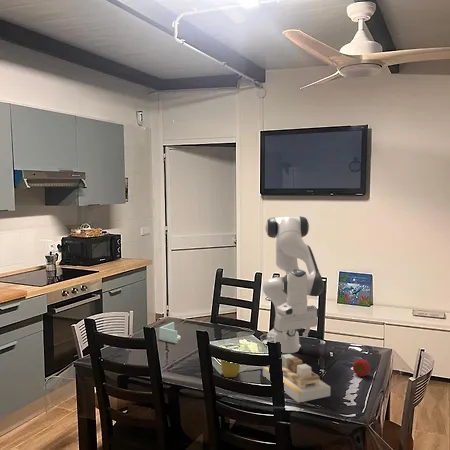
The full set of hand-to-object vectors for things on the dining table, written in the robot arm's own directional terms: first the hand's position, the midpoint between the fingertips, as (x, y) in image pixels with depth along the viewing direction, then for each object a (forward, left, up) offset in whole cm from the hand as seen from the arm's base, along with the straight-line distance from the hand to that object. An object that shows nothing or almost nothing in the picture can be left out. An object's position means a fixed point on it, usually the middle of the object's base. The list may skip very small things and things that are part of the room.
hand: (296, 338), depth 216 cm
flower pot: (-21, -22, -22) cm, 37 cm away
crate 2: (+7, 0, -15) cm, 16 cm away
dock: (0, 0, -21) cm, 21 cm away
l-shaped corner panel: (-80, -29, -22) cm, 88 cm away
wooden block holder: (0, 0, -17) cm, 17 cm away
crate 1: (-6, 0, -15) cm, 16 cm away
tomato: (+3, +34, -22) cm, 40 cm away
